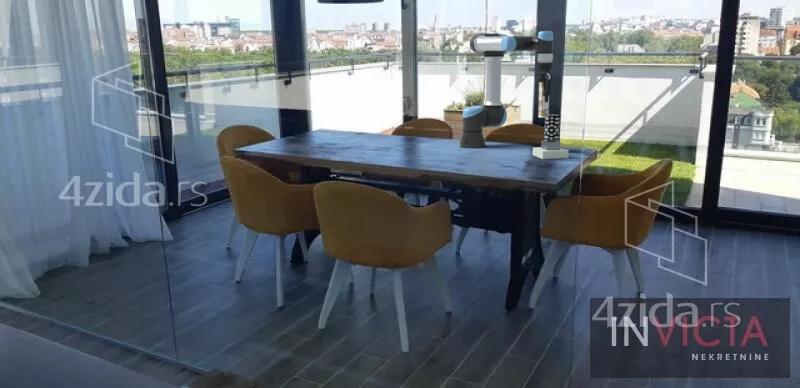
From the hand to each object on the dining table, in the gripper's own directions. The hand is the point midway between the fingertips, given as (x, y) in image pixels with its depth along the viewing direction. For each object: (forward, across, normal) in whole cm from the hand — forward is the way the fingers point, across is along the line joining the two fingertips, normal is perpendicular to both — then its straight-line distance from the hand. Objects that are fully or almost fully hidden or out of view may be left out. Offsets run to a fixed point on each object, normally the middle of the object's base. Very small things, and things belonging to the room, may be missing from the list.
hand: (543, 108), depth 323 cm
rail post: (+5, 0, 0) cm, 5 cm away
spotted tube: (+25, +16, -12) cm, 32 cm away
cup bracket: (+21, -1, -4) cm, 22 cm away
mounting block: (+25, -1, -4) cm, 26 cm away
